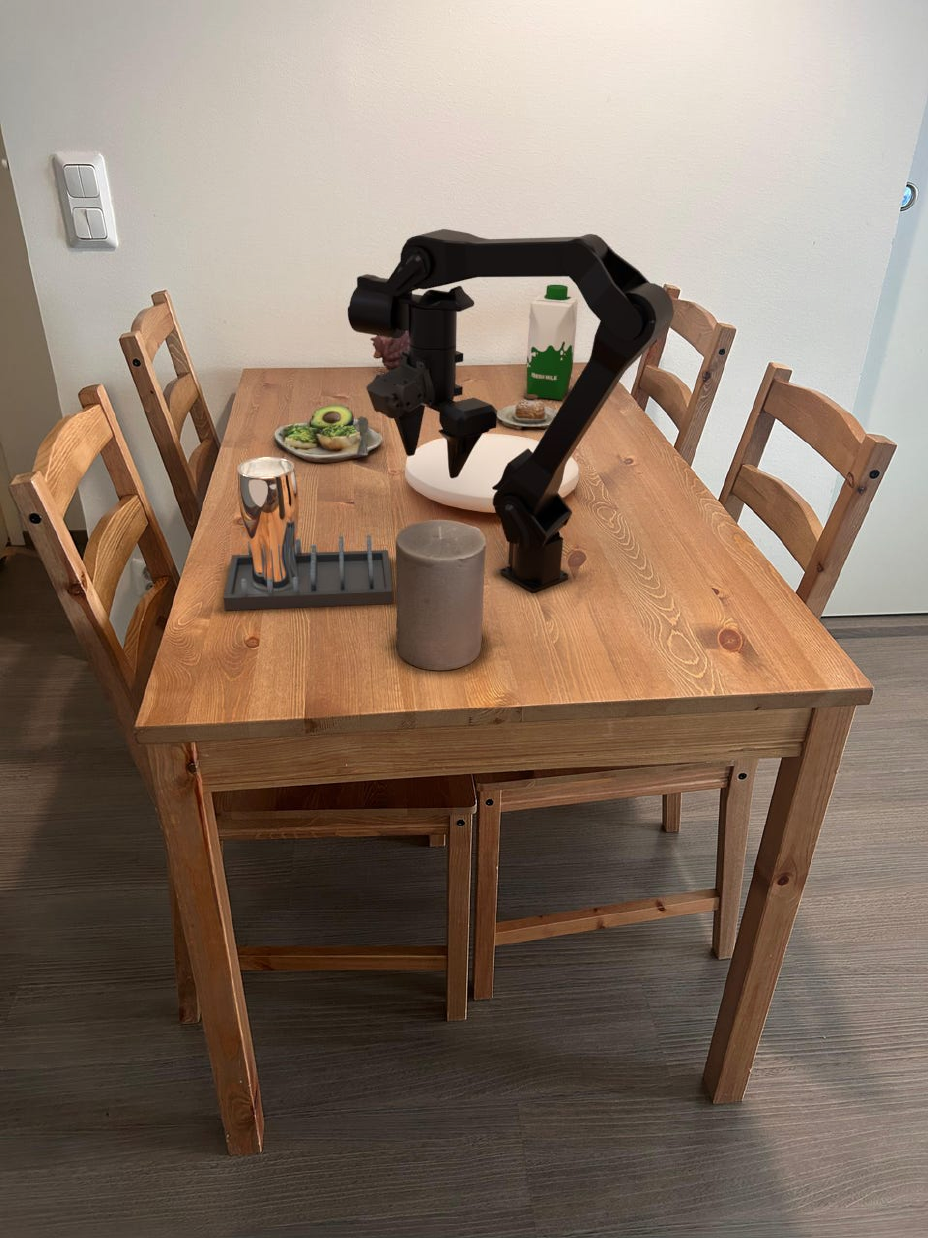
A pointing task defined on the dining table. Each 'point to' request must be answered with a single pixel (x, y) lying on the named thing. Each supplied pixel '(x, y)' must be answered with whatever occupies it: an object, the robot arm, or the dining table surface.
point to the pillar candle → (439, 593)
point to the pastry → (527, 414)
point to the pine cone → (390, 349)
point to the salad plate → (329, 436)
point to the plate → (473, 471)
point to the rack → (316, 581)
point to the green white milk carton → (551, 343)
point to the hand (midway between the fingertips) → (431, 466)
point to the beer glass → (270, 519)
